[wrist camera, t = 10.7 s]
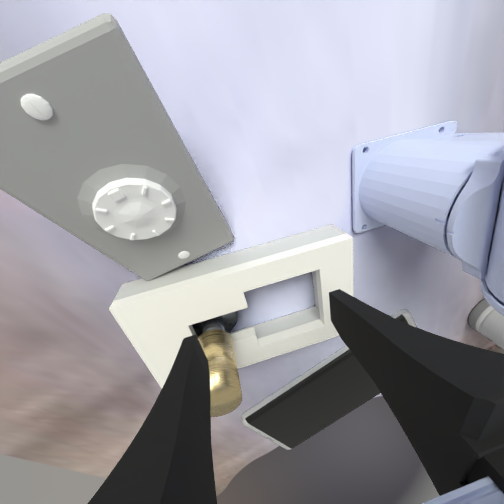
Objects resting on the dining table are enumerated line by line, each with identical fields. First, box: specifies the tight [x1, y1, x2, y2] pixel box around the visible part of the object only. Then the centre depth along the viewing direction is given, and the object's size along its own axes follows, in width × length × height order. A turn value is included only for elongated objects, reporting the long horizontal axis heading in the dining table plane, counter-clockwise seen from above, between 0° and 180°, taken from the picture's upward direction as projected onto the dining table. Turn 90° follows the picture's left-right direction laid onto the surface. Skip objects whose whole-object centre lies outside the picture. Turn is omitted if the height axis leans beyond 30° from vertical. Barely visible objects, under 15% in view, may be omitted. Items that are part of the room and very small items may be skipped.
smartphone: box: [242, 310, 417, 450], centre depth 34 cm, size 13×27×2 cm, turn 126°
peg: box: [192, 311, 242, 417], centre depth 20 cm, size 5×5×10 cm
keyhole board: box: [109, 224, 353, 388], centre depth 22 cm, size 20×11×4 cm, turn 102°
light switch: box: [0, 13, 234, 281], centre depth 15 cm, size 8×6×14 cm
